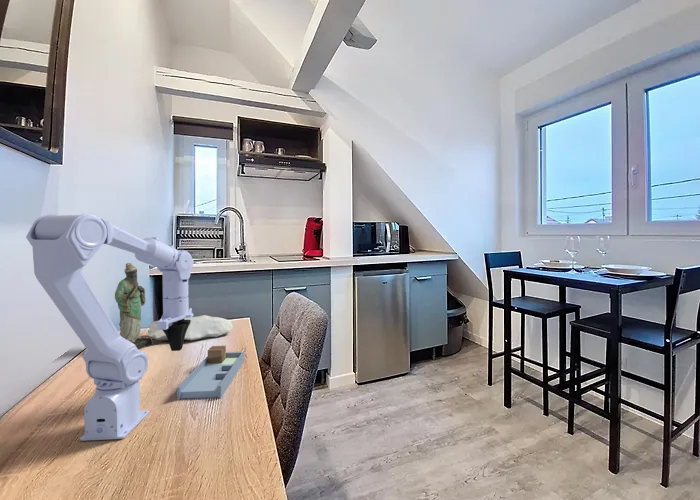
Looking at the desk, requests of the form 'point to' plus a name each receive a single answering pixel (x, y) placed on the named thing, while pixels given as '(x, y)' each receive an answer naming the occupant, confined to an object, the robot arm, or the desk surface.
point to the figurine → (131, 307)
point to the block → (216, 354)
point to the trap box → (211, 377)
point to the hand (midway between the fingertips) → (176, 349)
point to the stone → (196, 328)
